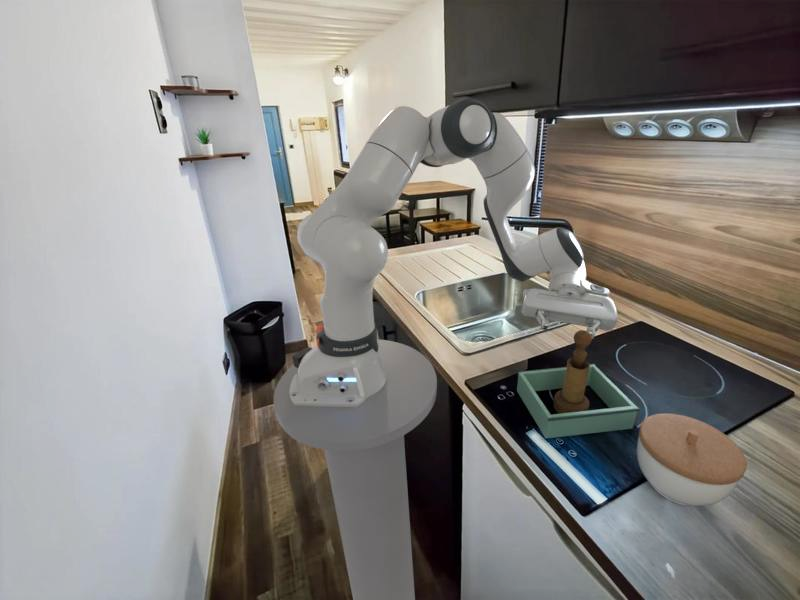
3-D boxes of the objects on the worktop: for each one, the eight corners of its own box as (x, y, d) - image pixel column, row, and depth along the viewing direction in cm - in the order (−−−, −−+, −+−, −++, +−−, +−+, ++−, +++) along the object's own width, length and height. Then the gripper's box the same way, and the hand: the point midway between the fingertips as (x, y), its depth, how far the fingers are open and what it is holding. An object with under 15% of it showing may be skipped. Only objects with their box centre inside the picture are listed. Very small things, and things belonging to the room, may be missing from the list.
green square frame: (545, 439, 67) (548, 418, 65) (515, 390, 80) (517, 371, 78) (633, 429, 68) (639, 408, 66) (590, 382, 81) (594, 363, 79)
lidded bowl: (642, 441, 66) (657, 392, 61) (733, 484, 57) (758, 431, 52) (616, 485, 58) (631, 433, 54) (716, 542, 50) (744, 486, 45)
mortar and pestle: (581, 424, 70) (597, 345, 63) (547, 410, 74) (559, 333, 67) (592, 406, 75) (608, 329, 67) (560, 393, 79) (572, 320, 71)
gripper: (525, 277, 91) (520, 312, 81) (616, 290, 85) (623, 330, 75) (521, 296, 95) (516, 332, 85) (608, 310, 89) (613, 351, 79)
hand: (567, 331), depth 80 cm, fingers open, 8 cm apart
